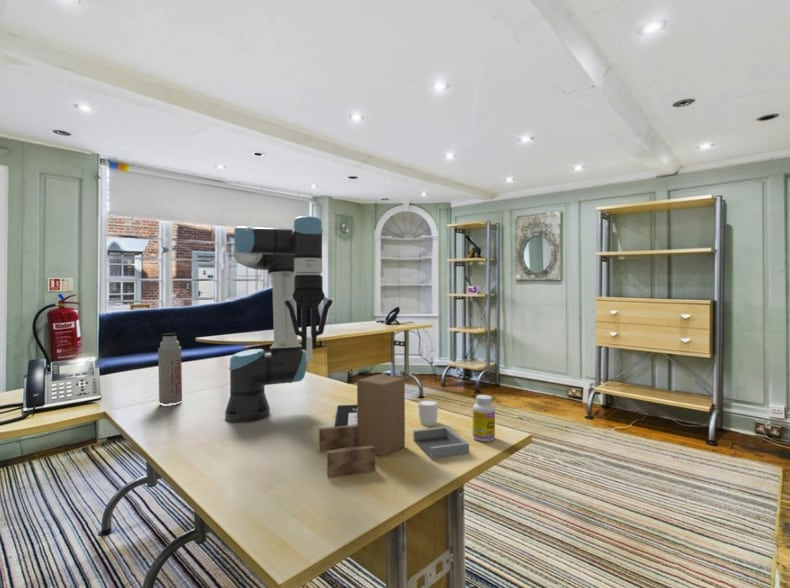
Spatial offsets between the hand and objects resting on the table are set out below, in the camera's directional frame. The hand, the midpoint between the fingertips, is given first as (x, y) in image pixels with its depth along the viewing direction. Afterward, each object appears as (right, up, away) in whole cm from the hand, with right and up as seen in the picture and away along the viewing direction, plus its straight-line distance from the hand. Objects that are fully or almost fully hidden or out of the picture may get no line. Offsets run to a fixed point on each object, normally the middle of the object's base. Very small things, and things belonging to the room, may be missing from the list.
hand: (309, 360), depth 112 cm
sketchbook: (+13, -26, +32) cm, 43 cm away
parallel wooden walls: (+10, -26, -1) cm, 28 cm away
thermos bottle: (-66, -26, +50) cm, 87 cm away
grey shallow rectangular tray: (+36, -26, +7) cm, 45 cm away
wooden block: (+20, -26, +6) cm, 33 cm away
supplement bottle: (+51, -26, +13) cm, 58 cm away
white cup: (+35, -26, +27) cm, 51 cm away
